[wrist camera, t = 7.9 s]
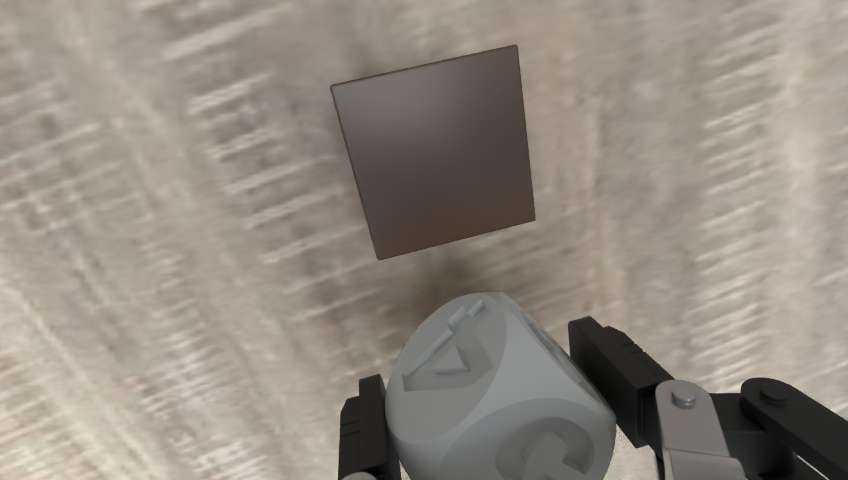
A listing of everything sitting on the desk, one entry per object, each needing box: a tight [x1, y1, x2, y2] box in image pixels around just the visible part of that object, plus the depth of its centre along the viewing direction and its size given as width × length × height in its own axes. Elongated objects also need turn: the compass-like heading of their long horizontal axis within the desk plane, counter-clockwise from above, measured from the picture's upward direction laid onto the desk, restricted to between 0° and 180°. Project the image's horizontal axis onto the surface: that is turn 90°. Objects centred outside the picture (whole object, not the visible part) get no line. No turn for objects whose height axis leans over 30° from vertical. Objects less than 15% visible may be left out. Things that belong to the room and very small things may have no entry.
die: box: [385, 291, 616, 480], centre depth 13 cm, size 5×5×5 cm
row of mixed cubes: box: [330, 45, 536, 260], centre depth 18 cm, size 28×5×5 cm, turn 12°
